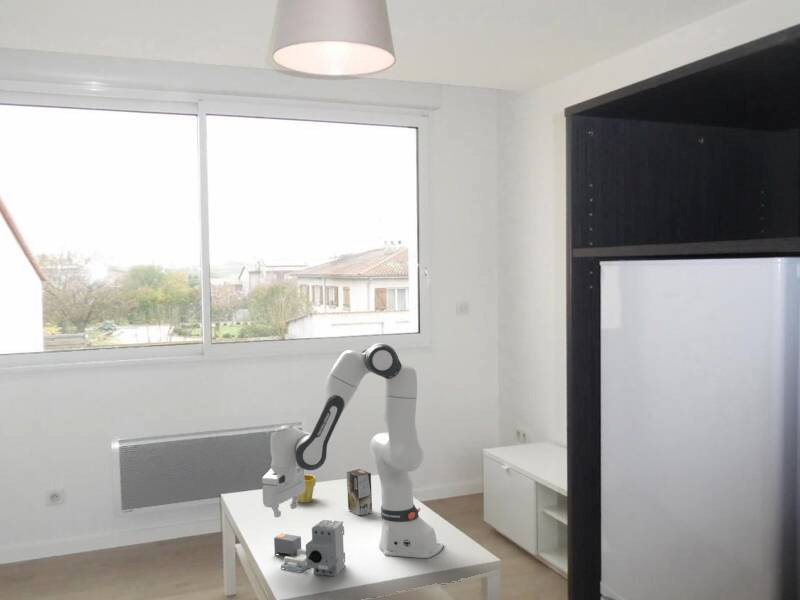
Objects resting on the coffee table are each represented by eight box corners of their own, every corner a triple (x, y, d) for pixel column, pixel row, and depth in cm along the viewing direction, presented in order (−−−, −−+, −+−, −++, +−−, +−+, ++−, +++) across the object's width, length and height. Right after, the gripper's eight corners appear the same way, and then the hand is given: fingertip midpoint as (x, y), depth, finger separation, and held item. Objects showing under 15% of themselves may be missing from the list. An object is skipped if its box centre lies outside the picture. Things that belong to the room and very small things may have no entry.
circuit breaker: (304, 581, 231) (302, 534, 231) (325, 563, 245) (323, 519, 244) (326, 584, 229) (324, 537, 228) (345, 566, 242) (343, 521, 241)
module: (301, 553, 254) (300, 536, 254) (293, 558, 250) (293, 540, 250) (282, 550, 258) (281, 532, 258) (274, 554, 254) (274, 537, 254)
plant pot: (306, 494, 320) (305, 472, 319) (321, 499, 312) (320, 477, 312) (286, 500, 313) (285, 478, 312) (300, 506, 305) (299, 482, 305)
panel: (324, 556, 251) (324, 547, 251) (301, 572, 238) (300, 563, 238) (305, 553, 255) (304, 544, 254) (280, 568, 242) (280, 559, 242)
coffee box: (373, 513, 293) (371, 473, 292) (359, 516, 290) (357, 476, 289) (361, 507, 301) (359, 468, 300) (347, 510, 297) (346, 471, 296)
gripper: (294, 464, 264) (295, 502, 264) (258, 479, 245) (260, 520, 246) (309, 466, 261) (310, 504, 261) (274, 481, 242) (275, 523, 243)
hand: (285, 512), depth 253 cm, fingers open, 8 cm apart
